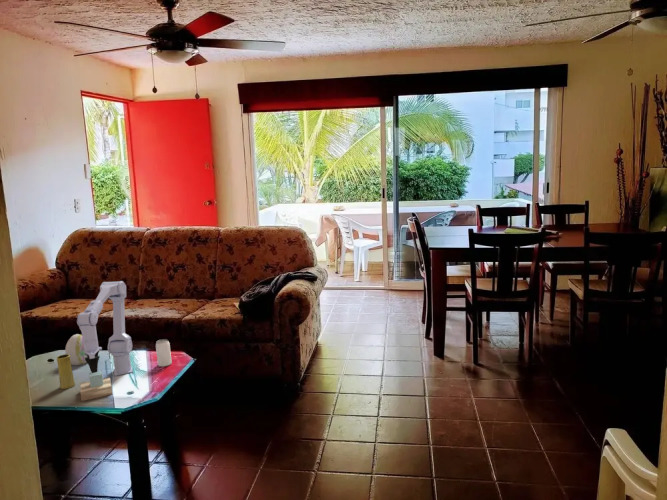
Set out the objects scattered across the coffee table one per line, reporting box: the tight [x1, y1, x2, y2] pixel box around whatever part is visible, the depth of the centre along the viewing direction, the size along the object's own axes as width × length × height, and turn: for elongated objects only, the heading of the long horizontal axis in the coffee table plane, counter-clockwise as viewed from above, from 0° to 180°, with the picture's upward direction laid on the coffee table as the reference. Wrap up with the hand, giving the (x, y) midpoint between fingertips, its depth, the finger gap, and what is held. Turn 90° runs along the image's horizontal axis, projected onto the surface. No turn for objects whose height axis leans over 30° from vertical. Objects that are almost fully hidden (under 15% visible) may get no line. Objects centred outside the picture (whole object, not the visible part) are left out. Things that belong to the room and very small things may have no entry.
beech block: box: [80, 377, 113, 402], centre depth 228 cm, size 12×12×4 cm
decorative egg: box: [64, 333, 88, 366], centre depth 267 cm, size 12×12×15 cm
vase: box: [56, 354, 76, 390], centre depth 236 cm, size 6×6×14 cm
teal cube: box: [88, 370, 104, 388], centre depth 227 cm, size 5×5×5 cm
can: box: [155, 338, 173, 368], centre depth 256 cm, size 6×6×12 cm
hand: (94, 369), depth 227 cm, fingers open, 7 cm apart
